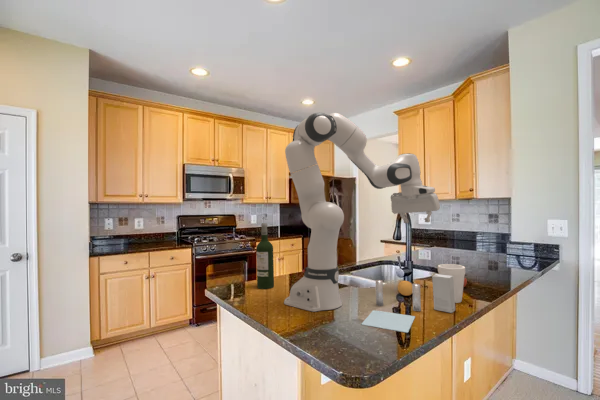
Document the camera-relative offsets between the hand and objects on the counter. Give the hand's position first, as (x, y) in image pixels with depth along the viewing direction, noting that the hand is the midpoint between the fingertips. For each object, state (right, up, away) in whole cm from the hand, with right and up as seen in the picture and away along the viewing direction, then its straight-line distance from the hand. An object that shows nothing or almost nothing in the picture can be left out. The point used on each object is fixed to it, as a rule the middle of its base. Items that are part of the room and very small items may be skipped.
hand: (416, 222), depth 130 cm
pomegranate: (+19, -29, +3) cm, 35 cm away
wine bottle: (-67, -31, +11) cm, 75 cm away
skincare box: (0, -29, -25) cm, 38 cm away
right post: (-9, -29, -24) cm, 39 cm away
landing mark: (-22, -29, -33) cm, 49 cm away
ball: (-7, -26, -7) cm, 28 cm away
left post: (-21, -30, -18) cm, 40 cm away
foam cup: (+8, -29, -14) cm, 33 cm away
